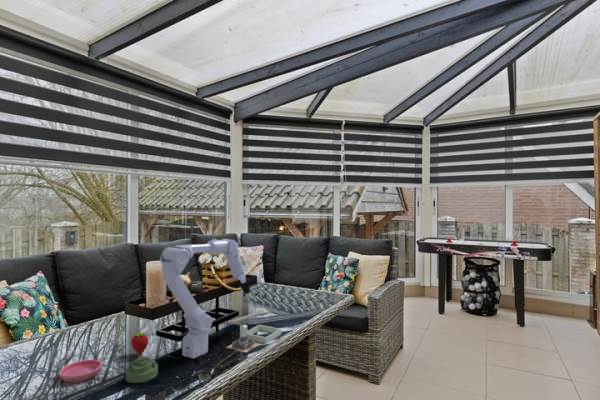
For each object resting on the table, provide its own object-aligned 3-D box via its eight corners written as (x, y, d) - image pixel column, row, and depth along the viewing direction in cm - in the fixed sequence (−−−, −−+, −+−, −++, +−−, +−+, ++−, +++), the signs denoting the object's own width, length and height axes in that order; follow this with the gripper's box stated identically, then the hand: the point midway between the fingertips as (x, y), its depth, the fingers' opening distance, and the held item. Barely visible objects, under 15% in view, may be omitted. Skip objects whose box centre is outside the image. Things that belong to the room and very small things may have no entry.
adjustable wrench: (230, 325, 165) (230, 322, 165) (223, 322, 169) (223, 319, 169) (270, 314, 182) (270, 311, 182) (263, 311, 187) (263, 308, 187)
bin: (266, 345, 139) (266, 338, 139) (243, 340, 145) (243, 333, 145) (281, 335, 150) (281, 329, 150) (259, 331, 156) (259, 324, 156)
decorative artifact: (159, 378, 112) (156, 366, 121) (159, 357, 113) (156, 346, 121) (125, 386, 108) (125, 373, 116) (125, 364, 108) (125, 352, 117)
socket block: (245, 354, 131) (245, 348, 131) (225, 349, 135) (226, 343, 135) (260, 345, 139) (260, 339, 139) (241, 340, 144) (241, 335, 144)
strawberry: (135, 360, 126) (135, 333, 126) (128, 354, 131) (128, 328, 131) (151, 355, 130) (151, 329, 130) (143, 350, 135) (144, 325, 135)
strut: (244, 348, 135) (244, 328, 135) (236, 346, 137) (236, 326, 137) (250, 344, 138) (250, 325, 138) (242, 342, 140) (242, 323, 140)
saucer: (109, 368, 120) (110, 359, 120) (86, 386, 108) (86, 376, 108) (76, 367, 121) (76, 358, 121) (49, 385, 108) (49, 375, 108)
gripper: (247, 266, 142) (258, 292, 147) (240, 254, 155) (250, 278, 160) (232, 273, 140) (243, 299, 145) (226, 260, 153) (236, 285, 158)
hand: (245, 289), depth 152 cm, fingers open, 7 cm apart
